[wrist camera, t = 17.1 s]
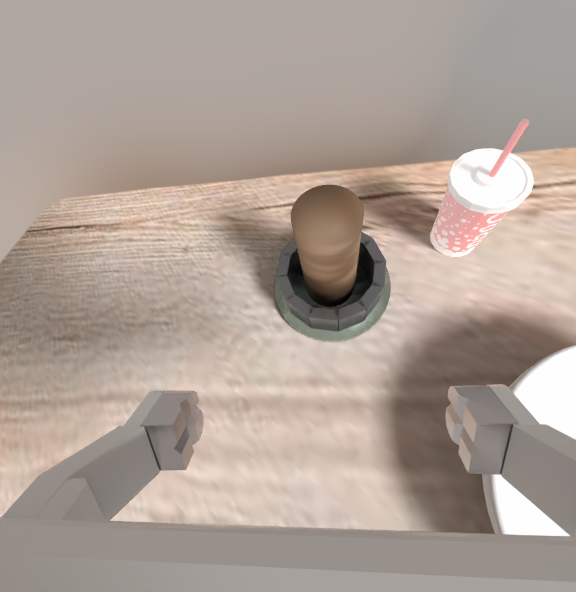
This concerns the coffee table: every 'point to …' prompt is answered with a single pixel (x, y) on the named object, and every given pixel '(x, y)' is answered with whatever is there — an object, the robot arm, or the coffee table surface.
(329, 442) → the coffee table surface
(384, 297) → the cup holder
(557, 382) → the serving bowl
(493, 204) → the beverage cup
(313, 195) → the brown rounded cylinder
